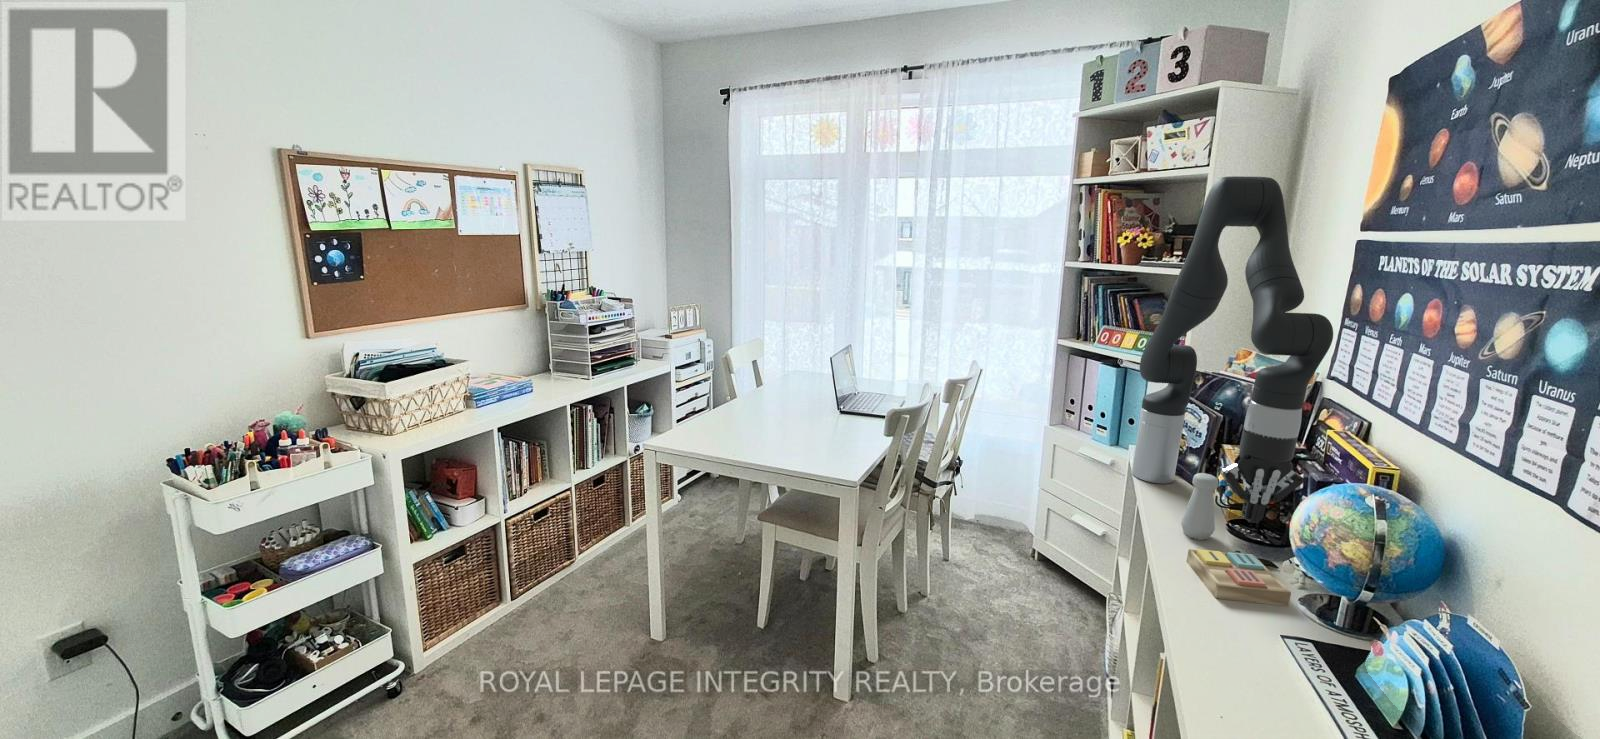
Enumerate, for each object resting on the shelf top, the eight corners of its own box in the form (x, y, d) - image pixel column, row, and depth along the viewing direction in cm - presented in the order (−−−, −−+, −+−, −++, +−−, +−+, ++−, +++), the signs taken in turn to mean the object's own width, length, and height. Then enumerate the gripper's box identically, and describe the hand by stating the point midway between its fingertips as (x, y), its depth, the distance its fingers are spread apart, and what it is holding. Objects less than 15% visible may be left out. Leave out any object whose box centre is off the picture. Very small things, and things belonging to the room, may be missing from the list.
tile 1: (1194, 560, 116) (1196, 548, 115) (1218, 563, 115) (1220, 550, 114) (1204, 572, 112) (1206, 560, 111) (1228, 575, 111) (1231, 562, 110)
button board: (1186, 561, 117) (1188, 549, 116) (1251, 567, 115) (1254, 555, 114) (1215, 598, 105) (1218, 585, 105) (1288, 605, 104) (1291, 592, 103)
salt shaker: (1219, 540, 124) (1231, 480, 121) (1197, 544, 123) (1208, 483, 120) (1194, 526, 130) (1205, 468, 127) (1172, 530, 128) (1182, 471, 125)
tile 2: (1225, 563, 115) (1227, 551, 114) (1249, 566, 114) (1251, 553, 113) (1235, 575, 111) (1238, 563, 110) (1260, 578, 110) (1263, 565, 110)
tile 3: (1225, 580, 109) (1227, 567, 109) (1250, 583, 109) (1253, 570, 108) (1236, 593, 106) (1239, 580, 105) (1262, 596, 105) (1265, 583, 104)
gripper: (1301, 424, 109) (1280, 514, 113) (1218, 419, 111) (1201, 507, 116) (1328, 439, 102) (1305, 535, 106) (1238, 433, 104) (1220, 527, 108)
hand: (1251, 520), depth 111 cm, fingers closed
